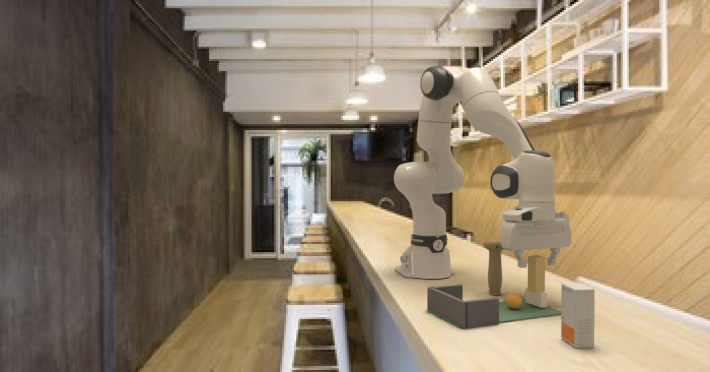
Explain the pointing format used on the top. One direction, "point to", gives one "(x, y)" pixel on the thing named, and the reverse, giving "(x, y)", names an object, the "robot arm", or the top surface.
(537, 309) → the pitch
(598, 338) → the top surface
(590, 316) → the skincare box
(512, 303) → the ball
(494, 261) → the handle
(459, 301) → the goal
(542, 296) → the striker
